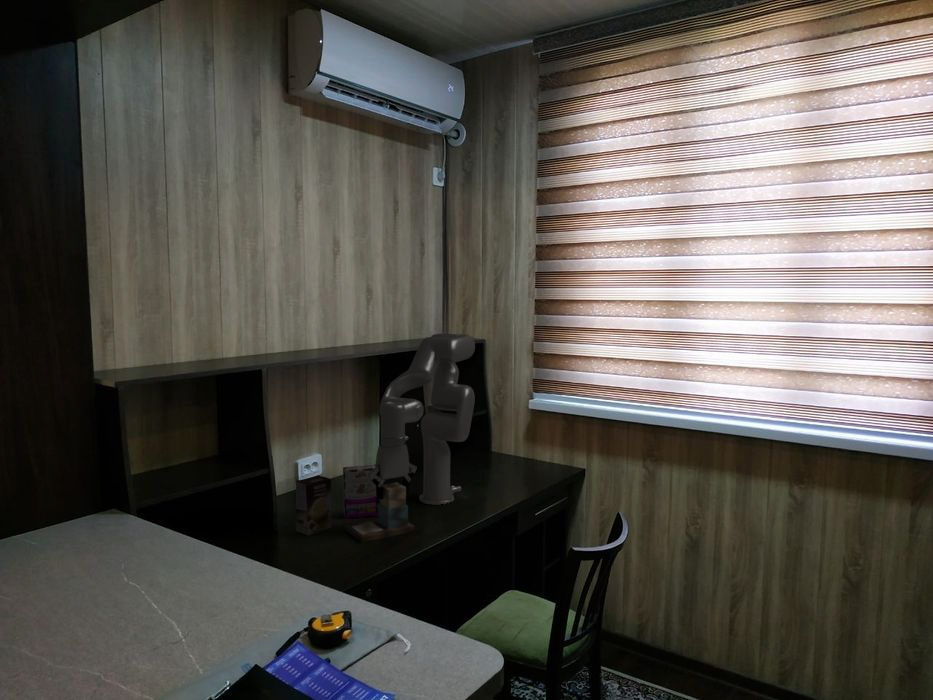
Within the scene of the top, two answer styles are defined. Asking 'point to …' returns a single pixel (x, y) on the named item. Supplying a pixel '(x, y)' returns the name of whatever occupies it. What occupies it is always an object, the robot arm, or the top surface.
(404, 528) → the base
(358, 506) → the candy bar box
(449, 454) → the robot arm
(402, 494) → the maple block
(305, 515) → the coffee box
